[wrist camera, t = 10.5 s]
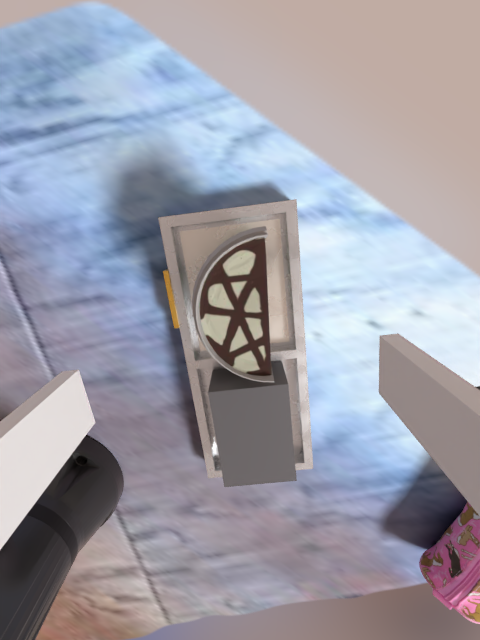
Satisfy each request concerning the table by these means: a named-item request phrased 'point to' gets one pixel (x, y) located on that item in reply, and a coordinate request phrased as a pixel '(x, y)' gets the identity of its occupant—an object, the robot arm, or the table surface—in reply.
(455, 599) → the pencil case
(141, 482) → the table surface
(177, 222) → the rack
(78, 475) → the robot arm
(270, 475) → the grey rectangular box
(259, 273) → the food container
